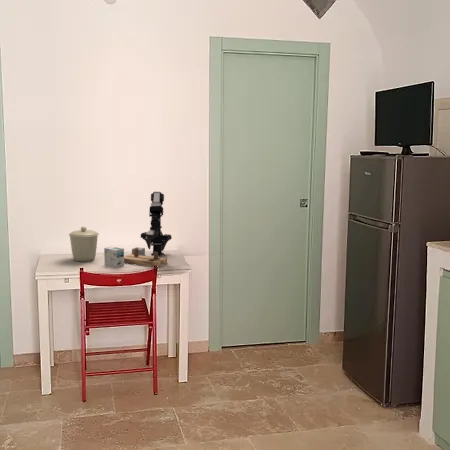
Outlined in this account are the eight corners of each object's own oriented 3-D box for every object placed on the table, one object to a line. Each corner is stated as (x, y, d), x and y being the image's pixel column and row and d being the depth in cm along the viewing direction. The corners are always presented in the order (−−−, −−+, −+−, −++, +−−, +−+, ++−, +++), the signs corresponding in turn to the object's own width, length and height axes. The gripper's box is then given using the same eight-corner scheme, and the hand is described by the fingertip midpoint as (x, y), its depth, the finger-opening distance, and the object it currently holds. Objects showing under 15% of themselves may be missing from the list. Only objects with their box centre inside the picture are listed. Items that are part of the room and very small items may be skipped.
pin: (155, 262, 366) (155, 251, 365) (158, 263, 365) (158, 252, 364) (153, 263, 364) (153, 252, 362) (156, 264, 363) (156, 252, 361)
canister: (102, 257, 378) (102, 224, 374) (93, 263, 360) (93, 229, 356) (75, 255, 379) (74, 223, 376) (65, 262, 362) (64, 228, 358)
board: (131, 258, 375) (130, 246, 374) (167, 263, 365) (167, 250, 364) (120, 262, 364) (120, 250, 363) (157, 267, 354) (157, 254, 353)
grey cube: (136, 256, 382) (136, 247, 380) (144, 257, 379) (144, 248, 378) (131, 258, 376) (131, 249, 375) (140, 259, 374) (140, 250, 373)
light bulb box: (124, 265, 358) (124, 248, 356) (116, 267, 352) (116, 250, 350) (112, 262, 364) (111, 245, 362) (104, 265, 358) (103, 247, 356)
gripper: (135, 225, 356) (135, 251, 359) (163, 228, 349) (163, 254, 352) (145, 222, 366) (145, 247, 369) (172, 225, 359) (171, 250, 362)
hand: (156, 250), depth 363 cm, fingers open, 9 cm apart
